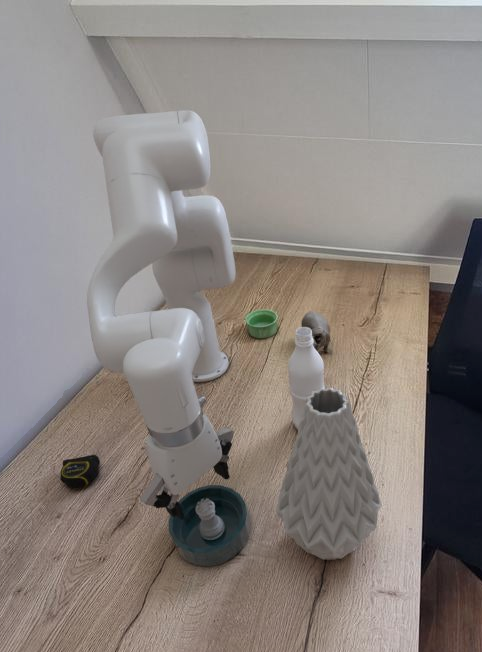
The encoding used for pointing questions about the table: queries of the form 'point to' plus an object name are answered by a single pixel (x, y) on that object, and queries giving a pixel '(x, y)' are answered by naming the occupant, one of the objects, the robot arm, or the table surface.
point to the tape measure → (80, 471)
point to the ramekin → (262, 323)
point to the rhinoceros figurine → (317, 329)
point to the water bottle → (304, 372)
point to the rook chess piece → (209, 520)
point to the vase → (328, 481)
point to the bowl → (187, 530)
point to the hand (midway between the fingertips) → (200, 493)
